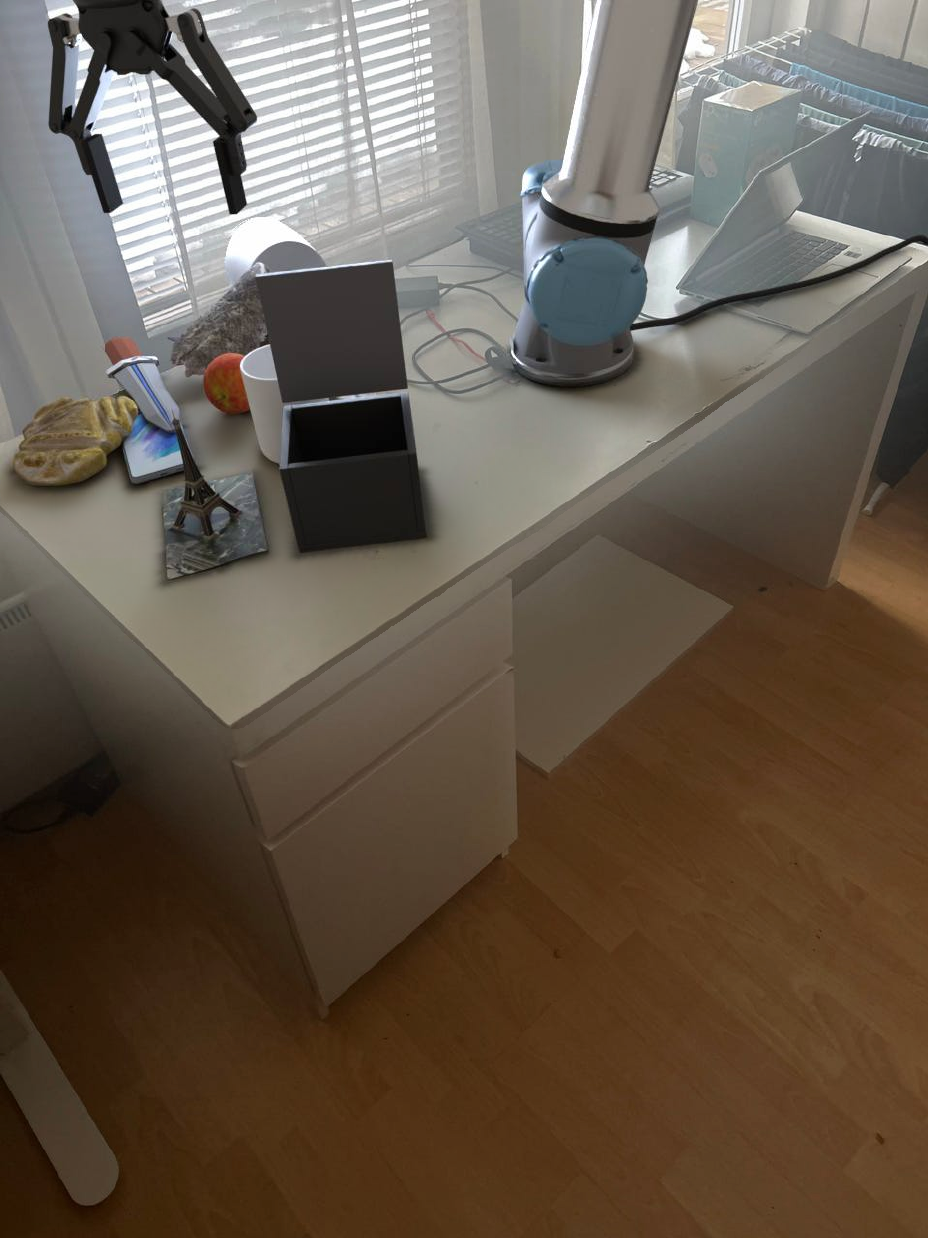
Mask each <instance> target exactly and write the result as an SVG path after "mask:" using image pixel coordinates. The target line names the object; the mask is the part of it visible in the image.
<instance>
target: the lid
mask: <svg viewBox="0 0 928 1238" xmlns="http://www.w3.org/2000/svg"><path fill="white" fill-rule="evenodd" d="M256 281H257V286H258V291H259V295H260V300H261V305H262V309H263V314H264V319H265V324H266V328H267V337H268V340H269V342H270V347H271V352H272V356H273V361H274V366H275V370H276V375H277V380H278V385H279V389H280V394H281V399H282V403H288V402H297V401H306V400H314V399H323V398H329V399H331V398H336V397H340V396H349V395H358V394H366V393H383V392H392V391H399V390H407V389H409V385H408V378H407V369H406V360H405V353H404V352H405V351H404V345H403V336H402V328H401V319H400V311H399V303H398V302H399V301H398V294H397V286H396V277H395V268H394V262H393V259H384V260H383V259H382V260H376V261H367V262H366V261H365V262H358V263H357V262H356V263H348V264H339V265H331V266H330V265H329V266H327V267H320V268H311V269H302V270H292V271H283V272H274V273H265V274H257V275H256Z"/></svg>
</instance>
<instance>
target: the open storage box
mask: <svg viewBox="0 0 928 1238" xmlns="http://www.w3.org/2000/svg"><path fill="white" fill-rule="evenodd" d="M413 423H414V422H413V416H412V408H411V400H410V394H409V391H404V392H394V393H386V394H378V395H376V396H367V397H359V398H350V399H333V400H329V401H324V402H315V403H307V404H298V405H288V406H284V409H283V423H282V437H281V452H280V464H279V469H278V470H279V475H280V478H281V483H282V487H283V491H284V495H285V499H286V503H287V508H288V511H289V515H290V520H291V524H292V528H293V532H294V536H295V541H296V544H297V549H298V552H299V553H300V554H303V553H312V552H319V551H327V550H336V549H344V548H351V547H361V546H370V545H377V544H386V543H393V542H394V543H395V542H402V541H410V540H419V539H426V538H427V529H426V521H425V512H424V504H423V503H424V502H423V495H422V487H421V486H422V485H421V479H420V478H421V477H420V471H419V470H420V469H419V462H418V454H417V446H416V445H417V444H416V438H415V431H414V430H415V429H414V424H413Z"/></svg>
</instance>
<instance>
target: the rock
mask: <svg viewBox="0 0 928 1238" xmlns="http://www.w3.org/2000/svg"><path fill="white" fill-rule="evenodd" d="M265 273H270V271H269V267H267V266H266V265H264V264H262V263H259V262H258V263H256V264H255V265H254V266H253V267H251V268H249V269H248V270H247V271H246V272H245V273H244V274H243V275H242V276H241V277H240V278H239V279H238V281H237V282H236V283H235V285H234V286H233V287H231V288H230V289H229V290H228V291H226V293H224V295H222V296H221V297H220V298H219V300H217V301H216V302H215V304H214V305H212V306H211V307H210V309H209V310H207V311H206V312H204V313H203V315H200V316H199V318H197V319H196V320H194V321H193V323H192V324H190V326H188V327H187V328H186V331H185V332H183V333H182V334H181V335H180V336H179V337H180V338H179V339H178V340H177V341H176V342H175V341H174V343H173V344H172V346H171V354H170V357H169V359H168V361H169V362H171V363H172V365H175V366H176V367H178V366H185V371H184V376H185V377H186V378H190V377H192V376H193V375H194V376H195V375H196V376H204V373H205V371H206V369H207V367H208V365H209V364H210V363H211V362H212V361H213V360H214V359H215V358H217V357H218V356H221V355H223V354H227V353H235V354H240V355H243V356H246V355H248V354H249V353H250V352H252V351H254V350H255V349H258V348H259V343H260V341H264V339H265V337H266V335H268V333H267V328H266V324H265V319H264V314H263V309H262V305H261V300H260V295H259V291H258V286H257V281H256V275H257V274H265Z"/></svg>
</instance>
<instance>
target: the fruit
mask: <svg viewBox="0 0 928 1238" xmlns="http://www.w3.org/2000/svg"><path fill="white" fill-rule="evenodd" d="M244 357H245V356H243V355H240V354H235V353H227V354H223V355H221V356H218V357H217V358H215V359H214V360H213V361H212V362H211V363H210V364H209V365H208V367H207V369H206V371H205V373H204V375H203V378H202V387H203V388H202V389H203V392H204V395H205V397H206V398H207V400H208V401H209V403H210V404H211V405H212V406H213V407H214V408H215V409H217V410H219V412H222V413H224V414H228V415H240V414H244V413H247V412H248V411H251V410H250V406H249V402H248V398H247V394H246V390H245V386H244V382H243V378H242V374H241V370H240V364H241V361H242V360H243V358H244Z"/></svg>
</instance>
